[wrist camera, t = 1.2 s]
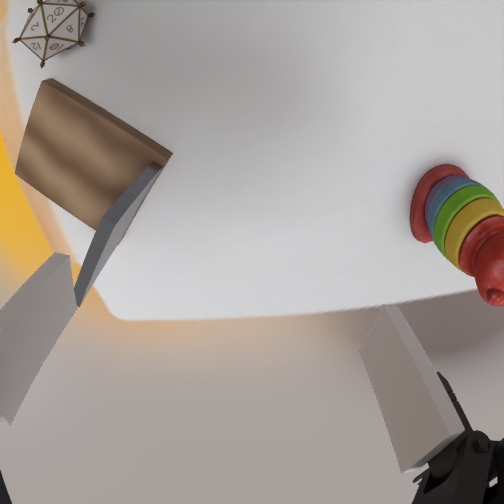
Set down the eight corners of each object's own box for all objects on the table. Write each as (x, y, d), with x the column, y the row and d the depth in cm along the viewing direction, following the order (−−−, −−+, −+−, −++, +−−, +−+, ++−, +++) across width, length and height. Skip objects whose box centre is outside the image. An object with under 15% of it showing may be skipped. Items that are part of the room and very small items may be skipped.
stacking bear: (413, 243, 36) (469, 348, 22) (399, 177, 31) (479, 277, 17) (475, 217, 33) (545, 306, 19) (470, 152, 28) (566, 230, 14)
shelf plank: (52, 78, 25) (42, 80, 23) (172, 153, 31) (167, 159, 30) (23, 167, 32) (14, 173, 30) (123, 236, 38) (118, 245, 36)
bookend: (153, 160, 30) (102, 216, 20) (163, 166, 30) (115, 225, 20) (113, 235, 36) (69, 301, 26) (120, 239, 36) (79, 307, 26)
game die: (88, 13, 23) (66, -38, 13) (115, 43, 24) (92, -16, 14) (30, 57, 22) (-5, 14, 12) (49, 92, 23) (7, 46, 13)
